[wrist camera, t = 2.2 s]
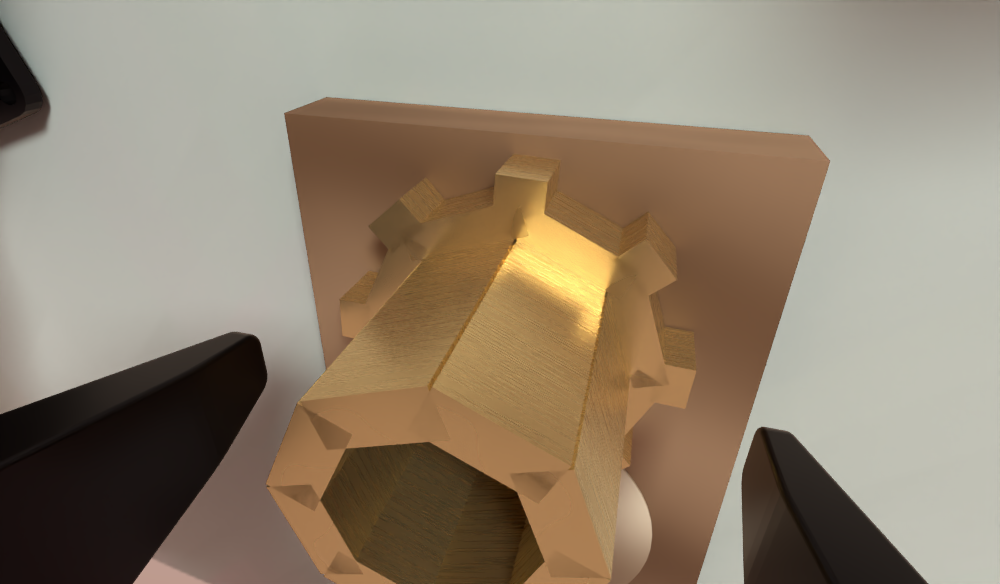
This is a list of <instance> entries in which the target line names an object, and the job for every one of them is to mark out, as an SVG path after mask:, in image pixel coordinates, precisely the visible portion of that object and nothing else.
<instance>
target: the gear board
mask: <svg viewBox="0 0 1000 584" xmlns="http://www.w3.org/2000/svg"><path fill="white" fill-rule="evenodd" d="M284 115H285V121H286V127H287V133H288V139H289V145H290V151H291V157H292V163H293V170H294V176H295V182H296V188H297V194H298V200H299V206H300V212H301V218H302V225H303V231H304V237H305V243H306V249H307V255H308V261H309V267H310V273H311V280H312V286H313V292H314V298H315V304H316V310H317V316H318V322H319V328H320V335H321V341H322V347H323V353H324V359H325V365H326V370H327V369H328V368H329V366H330V365H331V364H332V363H333V362H334V361H335V360H336V358H337V357H338V356H339V355H340V354H341V353H342V352H343V350H344V349H345V348H346V347H347V346H348V345H349V344H350V342H351V341H352V340H353V339H354V338H349V337H345V336H342V326H341V313H340V301H339V299H340V298H341V297H342V296H343V295H344V294H345V293H347V292H348V291H349V290H350V289H351V288H352V287H353V286H354V285H355V284H356V283H357V282H358V281H359V280H360V279H361V278H362V277H363V276H364V275H365V274H366V273H367V272H368V271H372V272H377V273H379V270H380V268H381V266H382V263H383V261H384V259H385V256H386V254H387V252H388V248H387V247H386V246H385V245H384V244H383V243H382V242H381V240H380V239H379V238H378V237H377V236H376V235H375V234H374V233H373V232H372V230H371V229H370V228H369V227H368V226H369V225H370V224H371V223H373V222H374V221H375V220H376V219H377V218H378V217H379V216H381V215H382V214H383V213H384V212H385V211H386V210H387V209H389V208H390V207H391V206H392V205H393V204H394V203H395V202H397V201H398V200H399V199H400V198H401V197H403V196H404V195H405V194H406V193H407V192H409V191H410V190H411V189H412V188H414V187H415V186H416V185H417V184H419V183H420V182H421V181H422V180H423V179H425V178H427V179H428V180H429V181H430V183H431V184H432V185H433V186H434V187H435V189H436V190H437V191H438V192H439V193H440V194H441V196H442V197H443V198H444V199H448V198H452V197H456V196H460V195H464V194H468V193H472V192H476V191H480V190H483V189H487V188H491V187H494V183H495V174H496V173H497V171H498V170H499V169H500V168H501V167H502V166H503V165H504V164H505V163H506V161H507V160H508V159H509V158H510V157H511V156H512V155H513V154H520V155H527V156H534V157H541V158H549V159H556V160H561V162H560V170H559V178H558V187H557V190H559V191H561V192H562V193H564V194H566V195H568V196H569V197H571V198H573V199H575V200H576V201H578V202H580V203H581V204H583V205H585V206H587V207H588V208H590V209H592V210H593V211H595V212H597V213H599V214H600V215H602V216H604V217H606V218H607V219H609V220H611V221H612V222H614V223H616V224H618V225H619V226H621V227H625V226H626V225H628V224H629V223H631V222H632V221H634V220H636V219H637V218H639V217H640V216H642V215H643V214H645V213H646V212H648V211H649V213H650V214H651V215H652V217H653V218H654V219H655V221H656V222H657V223H658V225H659V226H660V227H661V229H662V230H663V231H664V233H665V234H666V235H667V237H668V238H669V239H670V241H671V242H672V243H673V245H674V246H675V247H676V264H677V280H676V281H674V282H672V283H670V284H669V285H667V286H665V287H663V288H662V289H660V290H658V291H657V294H658V299H659V303H660V307H661V312H662V316H663V320H664V325H665V327H669V328H675V329H680V330H685V331H691V332H694V345H695V358H696V374H695V378H694V381H693V384H692V388H691V391H690V394H689V398H688V401H687V405H686V408H685V409H683V408H678V407H673V406H669V405H664V404H659V403H654V404H653V405H652V406H651V407H650V408H649V409H648V411H647V412H646V413H645V414H644V415H643V416H642V417H641V418H640V419H639V420H638V422H637V423H636V424H635V425H634V426H633V436H632V449H631V463H630V466H629V467H626V468H624V469H621V478H620V489H619V500H618V510H617V521H616V532H615V543H614V553H613V564H612V575H611V580H610V582H609V583H608V584H697V580H698V577H699V574H700V571H701V568H702V565H703V562H704V558H705V555H706V552H707V549H708V546H709V543H710V539H711V536H712V533H713V530H714V527H715V524H716V520H717V517H718V514H719V511H720V508H721V505H722V501H723V498H724V495H725V492H726V489H727V486H728V482H729V479H730V476H731V473H732V470H733V467H734V464H735V460H736V457H737V454H738V451H739V448H740V445H741V441H742V438H743V435H744V432H745V429H746V426H747V422H748V419H749V416H750V413H751V410H752V407H753V403H754V400H755V397H756V394H757V391H758V388H759V384H760V381H761V378H762V375H763V372H764V369H765V366H766V362H767V359H768V356H769V353H770V350H771V347H772V343H773V340H774V337H775V334H776V331H777V328H778V324H779V321H780V318H781V315H782V312H783V309H784V305H785V302H786V299H787V296H788V293H789V290H790V287H791V283H792V280H793V277H794V274H795V271H796V268H797V264H798V261H799V258H800V255H801V252H802V249H803V245H804V242H805V239H806V236H807V233H808V230H809V226H810V223H811V220H812V217H813V214H814V211H815V207H816V204H817V201H818V198H819V195H820V192H821V189H822V185H823V182H824V179H825V176H826V173H827V170H828V166H829V163H830V160H829V159H828V158H827V157H826V156H825V154H824V153H823V152H822V151H821V150H820V148H819V147H818V146H817V145H816V143H815V142H814V141H813V140H812V139H811V137H810V136H806V135H793V134H781V133H768V132H755V131H743V130H730V129H718V128H705V127H693V126H680V125H668V124H655V123H643V122H630V121H618V120H605V119H593V118H580V117H568V116H555V115H543V114H530V113H517V112H505V111H492V110H480V109H467V108H455V107H442V106H430V105H417V104H405V103H392V102H380V101H367V100H355V99H342V98H330V97H326V98H323V99H321V100H318V101H315V102H313V103H310V104H307V105H305V106H302V107H300V108H297V109H294V110H292V111H289V112H286V113H284Z"/></svg>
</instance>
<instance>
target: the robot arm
mask: <svg viewBox="0 0 1000 584" xmlns="http://www.w3.org/2000/svg"><path fill="white" fill-rule="evenodd" d="M42 102H43V101H42V95H41V92H40V90H39V88H38V85H37V83H36V82H35V80H34V79H33V77H32V76H31V74H30V72H29V71H28V69H27V68H26V66H25V64H24V63H23V61H22V60H21V58H20V56H19V55H18V53H17V52H16V50H15V49H14V47H13V45H12V44H11V42H10V41H9V39H8V37H7V36H6V34H5V33H4V31H3V29H2V28H1V26H0V128H2V127H4V126H7V125H9V124H11V123H13V122H16V121H18V120H20V119H22V118H25V117H27V116H29V115H31V114H34V113H36V112H37V111H39V110H40V109H41V106H42ZM266 382H267V370H266V365H265V361H264V356H263V352H262V348H261V343H260V341H259V339H258V338H257V337H256V336H254V335H252V334H246V333H241V332H230V333H227V334H224V335H221V336H218V337H216V338H213V339H210V340H207V341H204V342H202V343H199V344H196V345H193V346H190V347H188V348H185V349H182V350H179V351H176V352H174V353H171V354H168V355H165V356H162V357H160V358H157V359H154V360H151V361H148V362H146V363H143V364H140V365H137V366H134V367H132V368H129V369H126V370H123V371H120V372H118V373H115V374H112V375H109V376H106V377H104V378H101V379H98V380H95V381H92V382H90V383H87V384H84V385H81V386H78V387H76V388H73V389H70V390H67V391H64V392H62V393H59V394H56V395H53V396H50V397H48V398H45V399H42V400H39V401H36V402H34V403H31V404H28V405H25V406H22V407H20V408H17V409H14V410H11V411H8V412H5V413H3V414H0V584H133V583H134V581H135V580H136V579H137V577H138V576H139V575H140V573H141V572H142V570H143V569H144V568H145V566H146V565H147V564H148V562H149V561H150V559H151V558H152V557H153V555H154V554H155V553H156V551H157V550H158V548H159V547H160V546H161V544H162V543H163V542H164V540H165V539H166V537H167V536H168V535H169V533H170V532H171V531H172V529H173V528H174V526H175V525H176V524H177V522H178V521H179V520H180V518H181V517H182V515H183V514H184V513H185V511H186V510H187V509H188V507H189V506H190V504H191V503H192V502H193V500H194V499H195V498H196V496H197V495H198V493H199V492H200V491H201V489H202V488H203V487H204V485H205V484H206V482H207V481H208V480H209V478H210V477H211V476H212V474H213V473H214V471H215V470H216V468H217V467H218V465H219V464H220V462H221V461H222V459H223V458H224V456H225V454H226V453H227V451H228V450H229V448H230V446H231V444H232V443H233V441H234V439H235V438H236V436H237V434H238V433H239V431H240V429H241V427H242V426H243V424H244V422H245V421H246V419H247V417H248V416H249V414H250V412H251V410H252V409H253V407H254V405H255V404H256V402H257V400H258V398H259V397H260V395H261V393H262V392H263V390H264V388H265V385H266ZM742 523H743V564H744V584H928V583H927V582H926V581H925V580H924V578H923V577H922V576H921V575H920V574H919V573H918V572H917V571H916V570H915V569H914V567H913V566H912V565H911V564H910V563H909V562H908V561H907V560H906V559H905V557H904V556H903V555H902V554H901V553H900V552H899V551H898V550H897V549H896V548H895V546H894V545H893V544H892V543H891V542H890V541H889V540H888V539H887V538H886V537H885V535H884V534H883V533H882V532H881V531H880V530H879V529H878V528H877V527H876V526H875V524H874V523H873V522H872V521H871V520H870V519H869V518H868V517H867V516H866V515H865V513H864V512H863V511H862V510H861V509H860V508H859V507H858V506H857V505H856V503H855V502H854V501H853V500H852V499H851V498H850V497H849V496H848V495H847V494H846V492H845V491H844V490H843V489H842V488H841V487H840V486H839V485H838V484H837V483H836V481H835V480H834V479H833V478H832V477H831V476H830V475H829V474H828V473H827V472H826V470H825V469H824V468H823V467H822V466H821V465H820V464H819V463H818V462H817V460H816V459H815V458H814V457H813V456H812V455H811V454H810V453H809V452H808V451H807V449H806V448H805V447H804V446H803V445H802V444H801V443H800V442H799V441H798V440H797V438H796V437H795V436H794V435H793V434H791V433H790V432H788V431H784V430H779V429H773V428H768V427H761V428H758V429H757V431H756V432H755V435H754V438H753V441H752V444H751V447H750V450H749V453H748V456H747V459H746V462H745V465H744V468H743V473H742Z"/></svg>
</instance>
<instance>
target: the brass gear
mask: <svg viewBox="0 0 1000 584" xmlns="http://www.w3.org/2000/svg"><path fill="white" fill-rule="evenodd" d="M560 162H561V160H556V159H549V158H541V157H534V156H527V155H520V154H513V155H512V156H511V157H510V158H509V159H508V160H507V161H506V163H505V164H504V165H503V166H502V167H501V168H500V169H499V170H498V171H497V173H496V174H495V183H494V187H491V188H487V189H483V190H480V191H476V192H472V193H468V194H464V195H460V196H456V197H452V198H448V199H444V198H443V197H442V196H441V194H440V193H439V192H438V191H437V190H436V189H435V187H434V186H433V185H432V184H431V183H430V181H429V180H428V179H427V178H425V179H423V180H422V181H421V182H420V183H419V184H417V185H416V186H415V187H414V188H412V189H411V190H410V191H409V192H407V193H406V194H405V195H404V196H403V197H401V198H400V199H399V200H398V201H397V202H395V203H394V204H393V205H392V206H391V207H390V208H389V209H387V210H386V211H385V212H384V213H383V214H382V215H381V216H379V217H378V218H377V219H376V220H375V221H374V222H373V223H371V224H370V225H369V226H368V227H369V228H370V229H371V230H372V232H373V233H374V234H375V235H376V236H377V237H378V238H379V239H380V240H381V242H382V243H383V244H384V245H385V246H386V247H387V248H388V252H387V254H386V256H385V259H384V261H383V263H382V266H381V268H380V270H379V273H377V272H372V271H368V272H367V273H366V274H365V275H364V276H363V277H362V278H361V279H360V280H359V281H358V282H357V283H356V284H355V285H354V286H353V287H352V288H351V289H350V290H349V291H348V292H347V293H345V294H344V295H343V296H342V297H341V298H340V299H339V301H340V313H341V326H342V336H345V337H349V338H354V339H353V340H352V341H351V342H350V344H349V345H348V346H347V347H346V348H345V349H344V350H343V352H342V353H341V354H340V355H339V356H338V357H337V358H336V360H335V361H334V362H333V363H332V364H331V365H330V366H329V368H328V369H327V370H326V371H325V372H324V373H323V374H322V375H321V377H320V378H319V379H318V380H317V381H316V382H315V383H314V385H313V386H312V387H311V388H310V389H309V390H308V391H307V393H306V394H305V395H304V396H303V397H302V398H301V399H300V401H299V402H298V403H297V405H296V407H295V410H294V413H293V415H292V418H291V420H290V423H289V425H288V428H287V431H286V433H285V436H284V438H283V441H282V443H281V446H280V448H279V451H278V454H277V456H276V459H275V461H274V464H273V466H272V469H271V472H270V474H269V477H268V479H267V482H266V484H267V489H268V490H269V492H270V494H271V495H272V497H273V498H274V500H275V502H276V503H277V505H278V506H279V508H280V510H281V511H282V513H283V514H284V516H285V518H286V519H287V521H288V522H289V524H290V526H291V527H292V529H293V530H294V532H295V533H296V535H297V537H298V538H299V540H300V541H301V543H302V545H303V546H304V548H305V549H306V551H307V553H308V554H309V556H310V557H311V559H312V561H313V562H314V564H315V565H316V567H317V569H318V570H319V572H320V573H321V574H325V575H324V577H326V578H328V579H329V580H331V581H333V582H335V583H336V584H608V583H609V582H610V580H611V575H612V564H613V553H614V543H615V532H616V521H617V510H618V500H619V489H620V478H621V469H624V468H626V467H629V466H630V463H631V449H632V436H633V426H634V425H635V424H636V423H637V422H638V420H639V419H640V418H641V417H642V416H643V415H644V414H645V413H646V412H647V411H648V409H649V408H650V407H651V406H652V405H653V404H654V403H659V404H664V405H669V406H673V407H678V408H683V409H685V408H686V405H687V401H688V398H689V394H690V391H691V388H692V384H693V381H694V378H695V374H696V358H695V345H694V332H691V331H685V330H680V329H675V328H669V327H665V325H664V320H663V316H662V312H661V307H660V303H659V299H658V294H657V291H658V290H660V289H662V288H663V287H665V286H667V285H669V284H670V283H672V282H674V281H676V280H677V264H676V247H675V246H674V245H673V243H672V242H671V241H670V239H669V238H668V237H667V235H666V234H665V233H664V231H663V230H662V229H661V227H660V226H659V225H658V223H657V222H656V221H655V219H654V218H653V217H652V215H651V214H650V213H649V211H648V212H646V213H645V214H643V215H642V216H640V217H639V218H637V219H636V220H634V221H632V222H631V223H629V224H628V225H626V226H625V227H621V226H619V225H618V224H616V223H614V222H612V221H611V220H609V219H607V218H606V217H604V216H602V215H600V214H599V213H597V212H595V211H593V210H592V209H590V208H588V207H587V206H585V205H583V204H581V203H580V202H578V201H576V200H575V199H573V198H571V197H569V196H568V195H566V194H564V193H562V192H561V191H559V190H557V187H558V178H559V170H560Z"/></svg>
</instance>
